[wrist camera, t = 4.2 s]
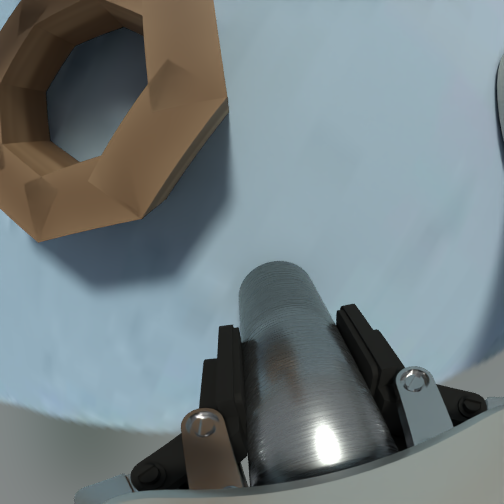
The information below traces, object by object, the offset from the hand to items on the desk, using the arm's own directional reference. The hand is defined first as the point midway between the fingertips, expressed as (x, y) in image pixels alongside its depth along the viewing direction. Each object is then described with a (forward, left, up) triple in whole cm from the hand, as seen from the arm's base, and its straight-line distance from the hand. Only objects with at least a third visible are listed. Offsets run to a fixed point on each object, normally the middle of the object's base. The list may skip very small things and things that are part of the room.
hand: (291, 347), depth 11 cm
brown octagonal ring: (+7, -12, -4) cm, 15 cm away
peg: (0, 0, -4) cm, 4 cm away
